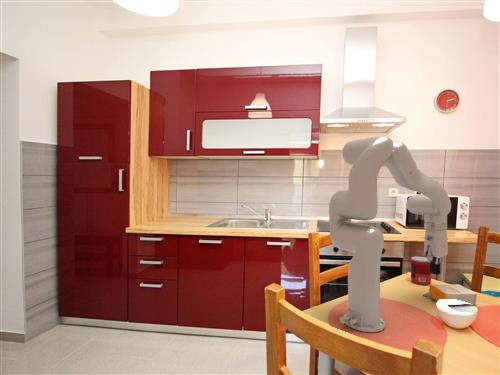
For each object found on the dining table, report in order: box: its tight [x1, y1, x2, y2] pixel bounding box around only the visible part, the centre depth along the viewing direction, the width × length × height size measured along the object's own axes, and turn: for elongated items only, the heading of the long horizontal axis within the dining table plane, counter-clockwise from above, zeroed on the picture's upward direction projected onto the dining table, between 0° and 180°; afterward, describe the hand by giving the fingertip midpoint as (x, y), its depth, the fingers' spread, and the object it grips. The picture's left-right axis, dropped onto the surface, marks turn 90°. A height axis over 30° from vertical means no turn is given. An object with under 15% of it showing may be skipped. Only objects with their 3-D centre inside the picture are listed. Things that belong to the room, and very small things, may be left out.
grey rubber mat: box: [422, 291, 434, 300], centre depth 119 cm, size 12×8×1 cm, turn 126°
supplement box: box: [428, 284, 478, 306], centre depth 113 cm, size 8×5×13 cm
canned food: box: [410, 256, 432, 286], centre depth 135 cm, size 8×8×11 cm
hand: (435, 273), depth 116 cm, fingers closed
